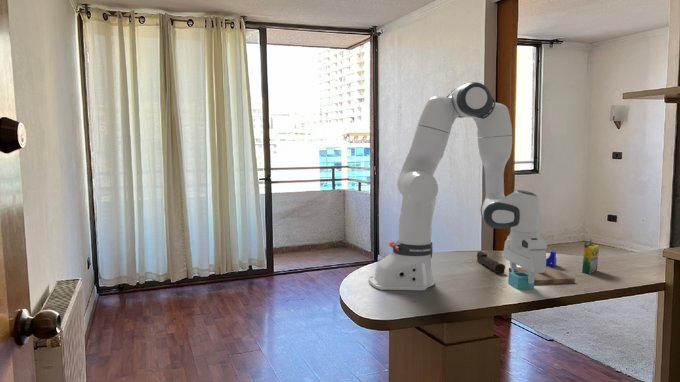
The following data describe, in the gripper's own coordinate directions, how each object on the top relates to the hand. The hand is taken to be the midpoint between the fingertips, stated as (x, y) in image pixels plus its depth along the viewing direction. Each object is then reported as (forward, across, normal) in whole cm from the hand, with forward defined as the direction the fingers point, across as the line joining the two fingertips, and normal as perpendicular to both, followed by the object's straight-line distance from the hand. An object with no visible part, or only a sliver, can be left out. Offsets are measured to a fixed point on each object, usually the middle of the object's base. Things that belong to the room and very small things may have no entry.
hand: (522, 278), depth 166 cm
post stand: (+3, -9, +13) cm, 16 cm away
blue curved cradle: (+3, -26, +23) cm, 34 cm away
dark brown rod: (+3, -24, 0) cm, 24 cm away
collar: (+2, 0, 0) cm, 3 cm away
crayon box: (+3, -13, +36) cm, 38 cm away
